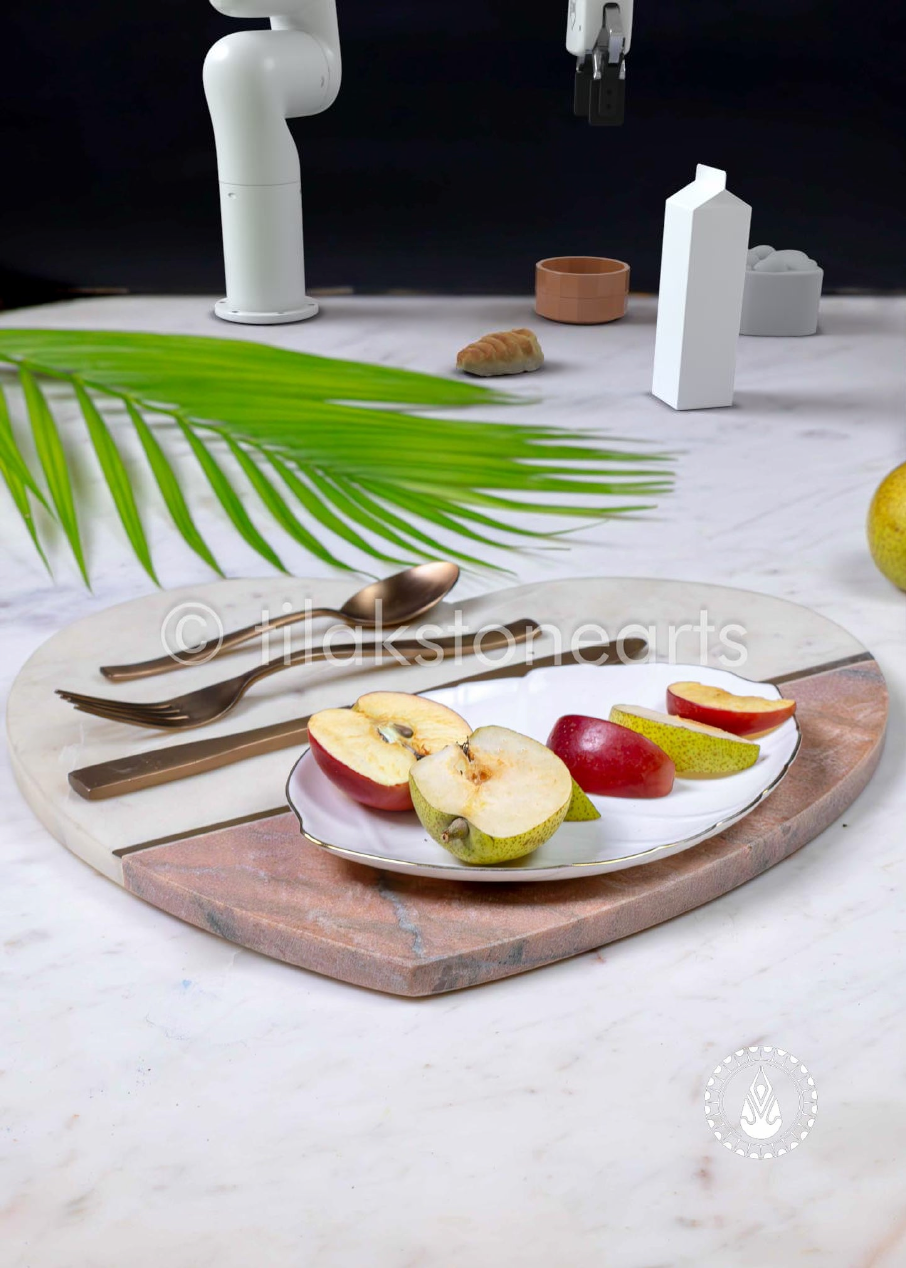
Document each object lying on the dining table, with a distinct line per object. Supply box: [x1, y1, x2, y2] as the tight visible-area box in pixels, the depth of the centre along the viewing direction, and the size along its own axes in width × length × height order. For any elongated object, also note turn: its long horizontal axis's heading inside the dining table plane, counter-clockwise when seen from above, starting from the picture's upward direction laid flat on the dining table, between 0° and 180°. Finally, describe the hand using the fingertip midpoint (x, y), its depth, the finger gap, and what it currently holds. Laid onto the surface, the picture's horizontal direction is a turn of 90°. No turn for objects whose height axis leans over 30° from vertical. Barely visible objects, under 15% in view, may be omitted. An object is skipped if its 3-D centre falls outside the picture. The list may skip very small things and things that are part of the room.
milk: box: [651, 163, 753, 411], centre depth 130 cm, size 6×6×22 cm
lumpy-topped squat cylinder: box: [739, 244, 824, 337], centre depth 161 cm, size 10×13×9 cm
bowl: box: [533, 256, 631, 325], centre depth 166 cm, size 11×11×6 cm
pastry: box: [455, 327, 545, 377], centre depth 144 cm, size 9×7×4 cm
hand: (597, 120), depth 132 cm, fingers open, 9 cm apart
